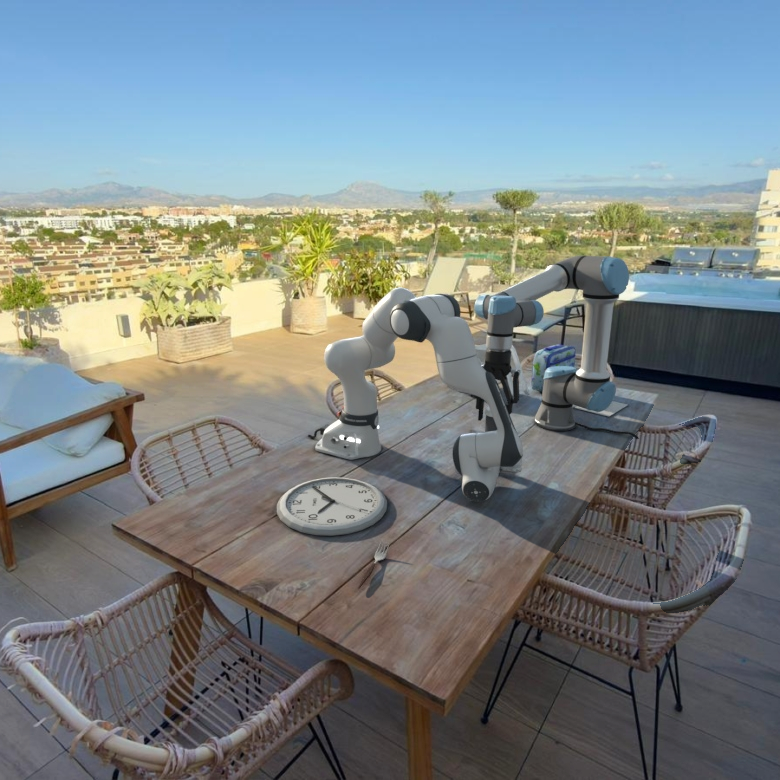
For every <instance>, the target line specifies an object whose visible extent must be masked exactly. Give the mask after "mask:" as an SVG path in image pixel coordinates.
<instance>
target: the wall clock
mask: <svg viewBox="0 0 780 780" xmlns="http://www.w3.org/2000/svg"><path fill="white" fill-rule="evenodd" d="M387 509H388V500H387V498H386V496H385V494H384V493H383V492H382V491H381V490H380V489H379V488H377V487H376V486H374V485H372V484H371V483H369V482H365V481H362V480H359V479H355V478H349V477H338V476H337V477H335V476H333V477H332V476H331V477H322V478H317V479H312V480H307V481H305V482H302V483H299V484H297V485H295V486H293V487H292V488H290V489H288V490H287V491H286V492H285V493H284V494H283V495H281V496H280V498H279V499H278V502H277V503H276V515H277V517H278V518H279V520H280V521H281V522H282V523H283V524H285V525H286V526H287V527H288V528H290V529H293V530H295V531H297V532H299V533H303V534H308V535H312V536H327V537H328V536H329V537H331V536H332V537H333V536H342V535H350V534H352V533H356V532H361V531H363V530H366V529H368V528H369V527H372V526H373V525H375V524H376V523H378V522H379V521H380V520H381V519H382V518H383V517H384V516H385V514H386V512H387Z"/></svg>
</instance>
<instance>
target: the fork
mask: <svg viewBox="0 0 780 780" xmlns="http://www.w3.org/2000/svg"><path fill="white" fill-rule="evenodd" d="M381 543H382V545H381ZM384 543H385V545H384ZM390 543H391V542H388V543H387V542H385V541H383V542H382V541H380V542H379V545H378V547H377V550H376V551H375V554H374V562H373V563H372V564H371V565H370V566H369V567H368V568H367V569H366V571H365V573H364V575H363V577H362V579H361V581H360V583H359V585H358V588H357V589H360V588H362V586H363V585H364V584H365V582H366V581H367V580H368V578H369V577H370V576H371V575H372V573H373V571H374V570H375V567H376V565H377V562H379V561H384V560H385V559H386V557H387V554H388V551H389V547H390ZM387 544H388V545H387ZM380 547H381V548H380ZM383 547H384V548H383Z"/></svg>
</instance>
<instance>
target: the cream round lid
mask: <svg viewBox="0 0 780 780" xmlns="http://www.w3.org/2000/svg"><path fill="white" fill-rule="evenodd" d="M484 415H485V416H486V415H487V416H490V417H493V416H492V413H491V410H490V408H489V406H486V407H485V409H484Z"/></svg>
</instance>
